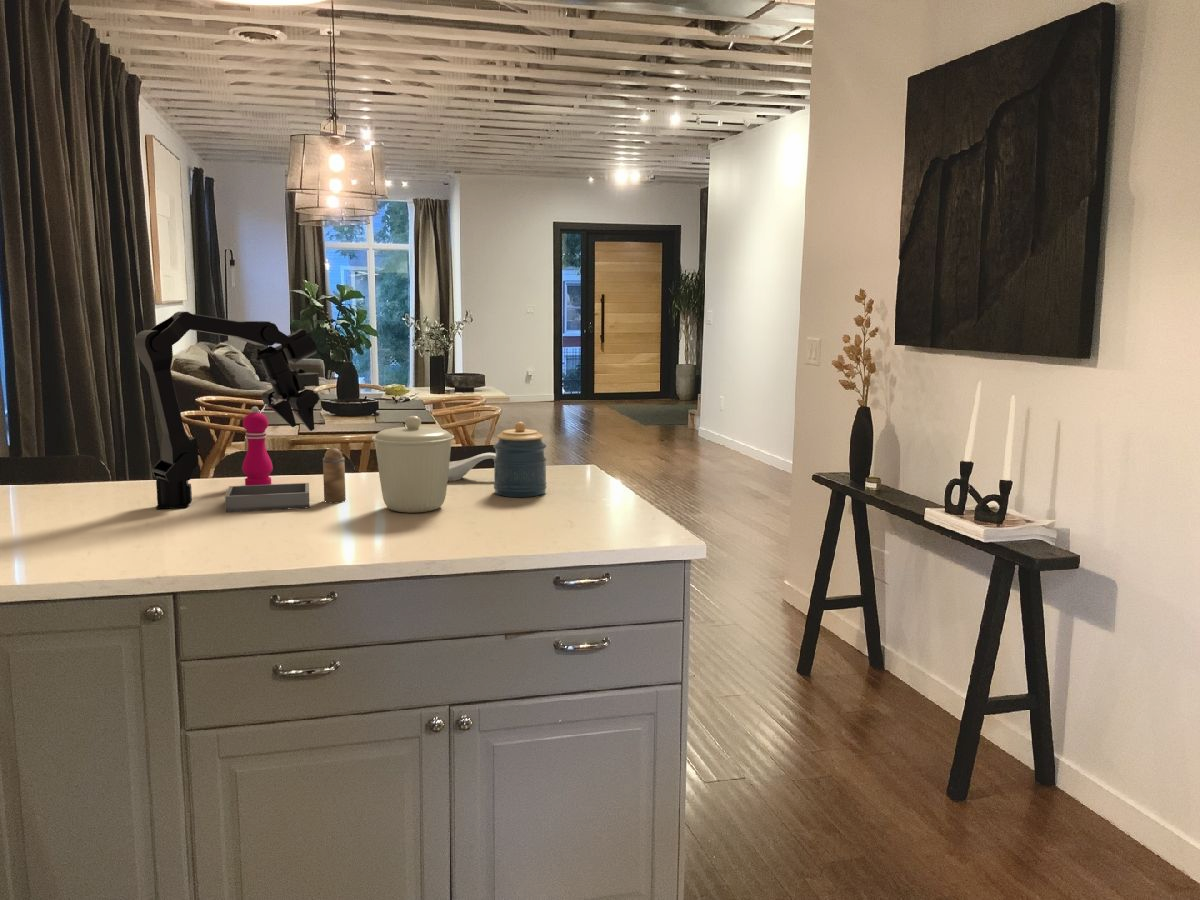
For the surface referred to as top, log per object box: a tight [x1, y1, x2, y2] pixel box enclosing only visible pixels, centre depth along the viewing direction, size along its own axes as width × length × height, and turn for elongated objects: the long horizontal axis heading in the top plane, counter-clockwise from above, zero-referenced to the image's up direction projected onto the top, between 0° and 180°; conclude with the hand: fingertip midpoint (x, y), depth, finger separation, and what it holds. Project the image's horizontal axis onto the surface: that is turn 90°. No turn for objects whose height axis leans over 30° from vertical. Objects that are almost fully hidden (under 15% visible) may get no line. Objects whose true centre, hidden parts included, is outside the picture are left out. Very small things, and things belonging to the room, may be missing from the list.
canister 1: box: [371, 415, 455, 514], centre depth 211 cm, size 18×18×21 cm
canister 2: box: [493, 421, 548, 498], centre depth 230 cm, size 13×13×18 cm
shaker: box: [322, 447, 347, 503], centre depth 219 cm, size 5×5×12 cm
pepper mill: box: [241, 406, 274, 486], centre depth 236 cm, size 7×7×20 cm
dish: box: [224, 482, 310, 513], centre depth 215 cm, size 18×13×4 cm
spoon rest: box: [447, 452, 496, 482], centre depth 249 cm, size 24×12×7 cm, turn 90°
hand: (303, 428), depth 232 cm, fingers open, 9 cm apart
